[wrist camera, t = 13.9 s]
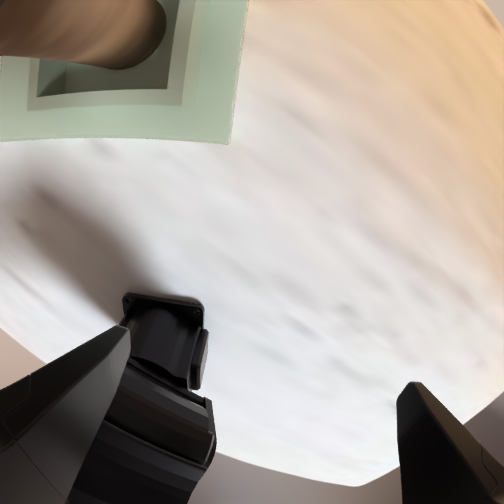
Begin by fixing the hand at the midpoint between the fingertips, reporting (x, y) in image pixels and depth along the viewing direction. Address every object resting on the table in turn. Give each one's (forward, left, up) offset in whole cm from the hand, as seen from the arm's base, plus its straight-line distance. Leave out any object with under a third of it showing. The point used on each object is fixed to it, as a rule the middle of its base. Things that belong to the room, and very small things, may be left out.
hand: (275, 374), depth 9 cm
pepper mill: (-10, +12, -12) cm, 19 cm away
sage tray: (-12, +12, -13) cm, 21 cm away
